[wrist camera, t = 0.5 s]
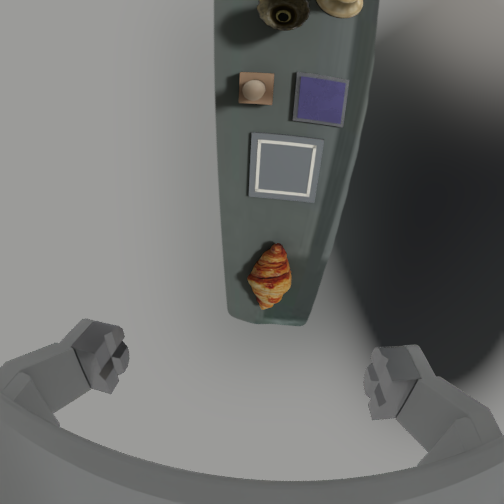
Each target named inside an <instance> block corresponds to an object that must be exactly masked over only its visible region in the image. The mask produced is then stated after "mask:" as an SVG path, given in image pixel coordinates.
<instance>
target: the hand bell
mask: <svg viewBox="0 0 504 504" xmlns="http://www.w3.org/2000/svg"><path fill="white" fill-rule="evenodd" d="M316 1H317V3H318V5H319V6H320V7H321V9H322V10H324V11H325V12H326V13H328V14H330V15H332V16H334V17H338V18H350V17H353V16H355V15H357V14H358V13H359V12H360V11H361V9H362V6H363V0H316Z"/></svg>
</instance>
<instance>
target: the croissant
mask: <svg viewBox="0 0 504 504" xmlns="http://www.w3.org/2000/svg"><path fill="white" fill-rule="evenodd" d="M286 256H287V253H286V251H285V250H284V248H283V246H282V245H281V244H280V243H277V244H274V245H272V247H271V249H270V250H267V251H266V252H264V253H263V255H262V256H261V258H260V259H259V261H258V262H256V264H255V266H254V268H253V270H252V272H251V274H250V275H249V276H248V278H247V279H248V282H249V284H250V285H251V286H252V290H253V292H254V294H255V295H256V299H257V301H258V303H259V306H260V307H261V309H262V310H263V309H266V308H270V307H272V306H273V304H275V303H278V302H279V301H280V300H281V299H282V296H283V294H284V293H285V292H287V291H288V290H289V288H290V286H291V272H290V268H289V263H288V260H287V257H286Z"/></svg>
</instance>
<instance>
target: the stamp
mask: <svg viewBox="0 0 504 504" xmlns="http://www.w3.org/2000/svg"><path fill="white" fill-rule="evenodd" d="M273 87H274V74H272V73H256V72H240V81H239V103H249V104H265V105H272V101H273Z"/></svg>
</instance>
